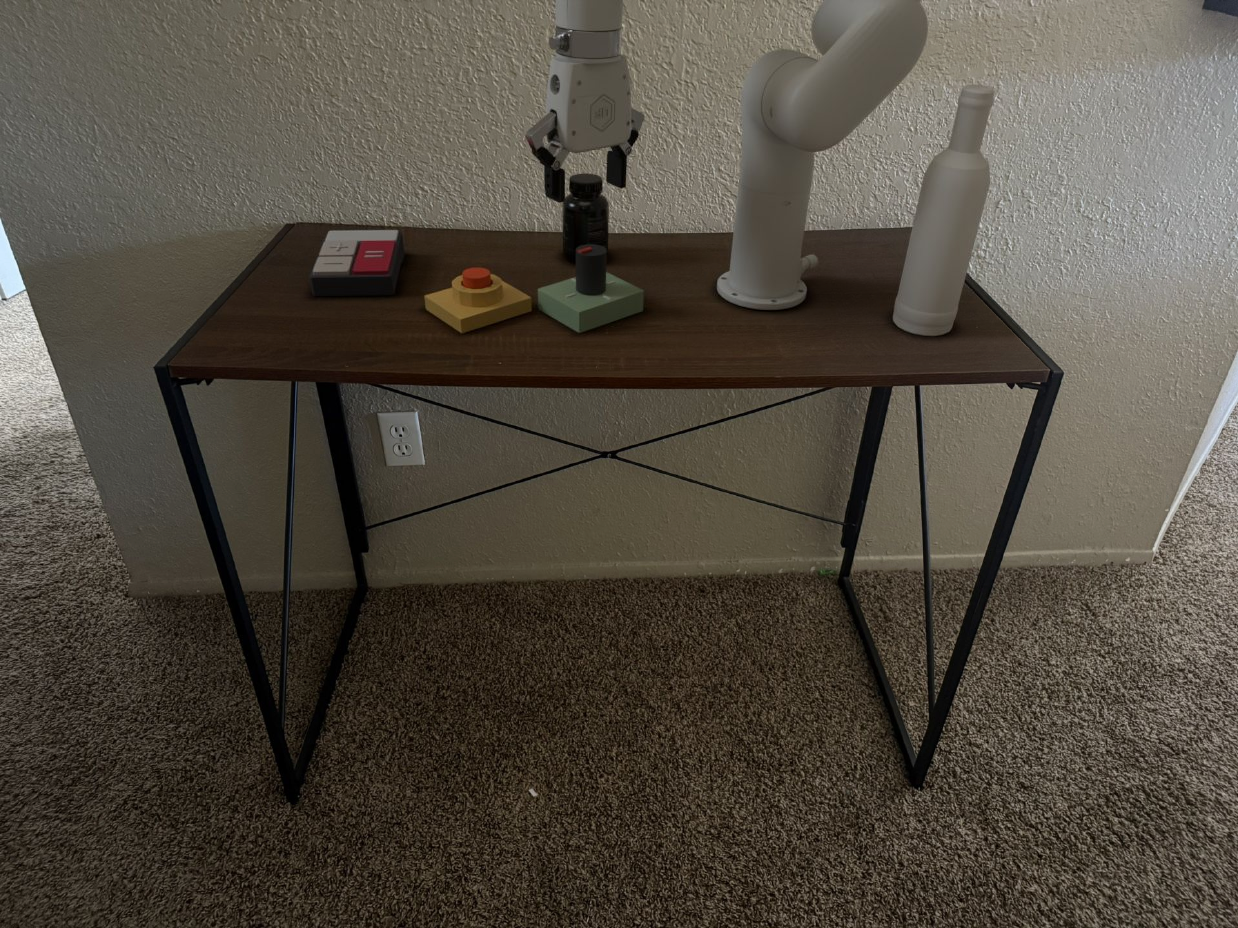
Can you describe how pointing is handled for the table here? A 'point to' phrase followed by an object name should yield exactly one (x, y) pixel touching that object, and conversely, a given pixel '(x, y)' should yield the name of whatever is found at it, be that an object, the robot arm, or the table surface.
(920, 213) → the bottle
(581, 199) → the supplement bottle
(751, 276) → the robot arm
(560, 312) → the dial panel
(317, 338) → the table surface
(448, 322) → the tan flat block
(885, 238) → the table surface
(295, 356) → the table surface
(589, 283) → the lock dial
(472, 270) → the button
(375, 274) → the calculator
